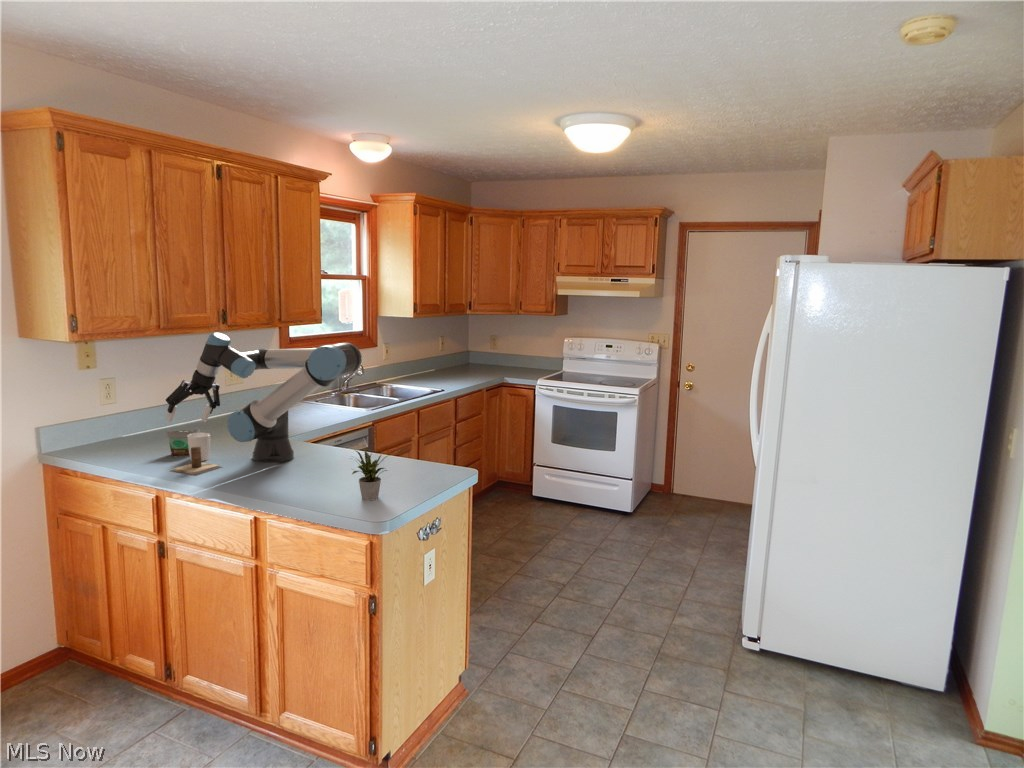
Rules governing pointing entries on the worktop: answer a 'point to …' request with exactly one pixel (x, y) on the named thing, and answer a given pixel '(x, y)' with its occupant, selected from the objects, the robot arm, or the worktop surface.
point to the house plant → (369, 477)
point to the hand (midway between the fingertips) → (186, 420)
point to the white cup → (200, 444)
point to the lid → (196, 463)
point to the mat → (194, 474)
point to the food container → (179, 442)
